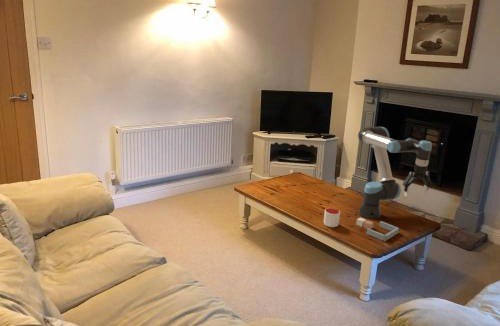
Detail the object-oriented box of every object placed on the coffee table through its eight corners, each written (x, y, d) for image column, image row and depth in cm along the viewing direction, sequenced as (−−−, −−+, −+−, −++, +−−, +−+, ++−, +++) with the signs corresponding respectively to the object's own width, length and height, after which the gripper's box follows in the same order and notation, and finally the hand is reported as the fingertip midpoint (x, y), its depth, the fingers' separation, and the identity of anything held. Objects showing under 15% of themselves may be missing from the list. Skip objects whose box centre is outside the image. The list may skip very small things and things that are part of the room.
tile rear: (356, 224, 278) (356, 219, 276) (359, 222, 281) (360, 217, 280) (361, 227, 275) (362, 221, 273) (365, 225, 278) (366, 219, 276)
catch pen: (366, 233, 265) (367, 228, 264) (380, 225, 277) (381, 221, 276) (384, 241, 256) (385, 236, 255) (398, 232, 269) (399, 228, 268)
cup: (336, 221, 281) (338, 208, 278) (340, 228, 271) (341, 214, 268) (322, 221, 280) (323, 207, 277) (325, 227, 271) (326, 213, 268)
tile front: (363, 227, 274) (364, 222, 273) (366, 225, 277) (367, 220, 276) (369, 230, 271) (370, 224, 270) (372, 228, 274) (373, 222, 273)
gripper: (407, 167, 255) (401, 198, 262) (442, 166, 261) (435, 197, 268) (400, 163, 262) (394, 193, 269) (434, 162, 268) (427, 192, 275)
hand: (414, 195), depth 269 cm, fingers open, 13 cm apart
